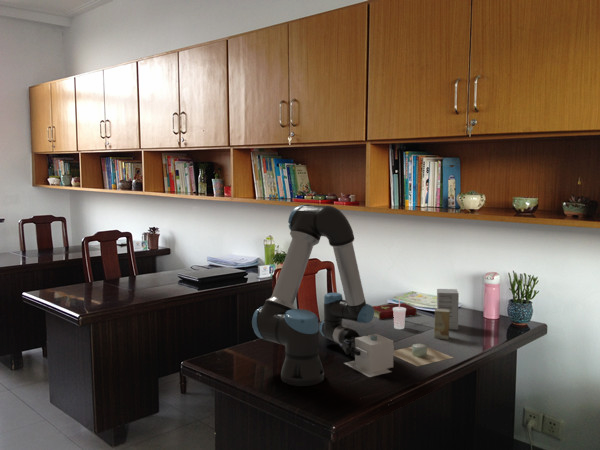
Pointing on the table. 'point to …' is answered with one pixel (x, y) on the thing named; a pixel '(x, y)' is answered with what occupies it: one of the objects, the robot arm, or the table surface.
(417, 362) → the birch board
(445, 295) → the supplement box
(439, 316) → the skincare box
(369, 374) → the grey mat
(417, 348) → the pale green cylinder
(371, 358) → the dust cover
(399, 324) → the beverage cup
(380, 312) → the hardcover book
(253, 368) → the table surface
